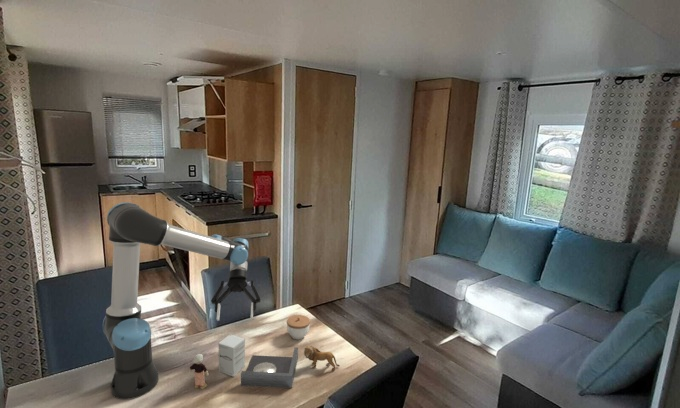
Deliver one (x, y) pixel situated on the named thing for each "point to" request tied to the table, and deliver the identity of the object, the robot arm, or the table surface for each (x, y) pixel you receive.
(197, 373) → the grandmother figurine
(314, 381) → the table surface
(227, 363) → the supplement box
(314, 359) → the lion figurine
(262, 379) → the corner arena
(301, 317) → the lidded jar
